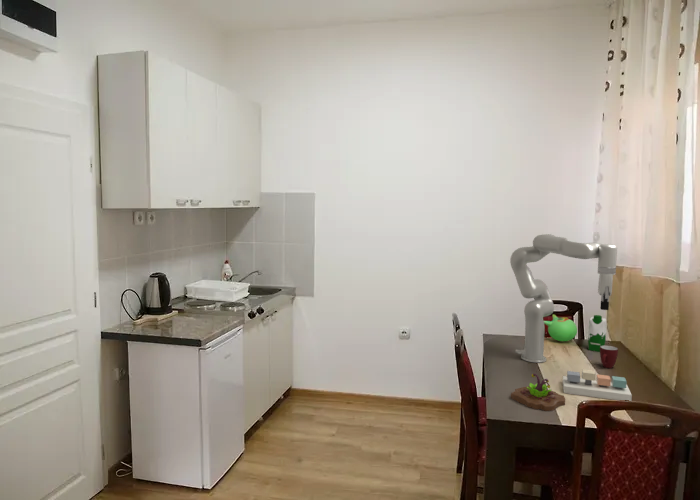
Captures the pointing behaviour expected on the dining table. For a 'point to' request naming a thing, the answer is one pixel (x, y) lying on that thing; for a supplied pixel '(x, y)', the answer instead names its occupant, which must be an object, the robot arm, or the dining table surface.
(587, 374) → the key
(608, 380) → the key
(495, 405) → the dining table surface
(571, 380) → the key
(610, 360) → the mug
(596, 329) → the milk carton
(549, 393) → the plant
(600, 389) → the keypad base
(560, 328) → the toy bird
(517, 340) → the dining table surface
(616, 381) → the key
